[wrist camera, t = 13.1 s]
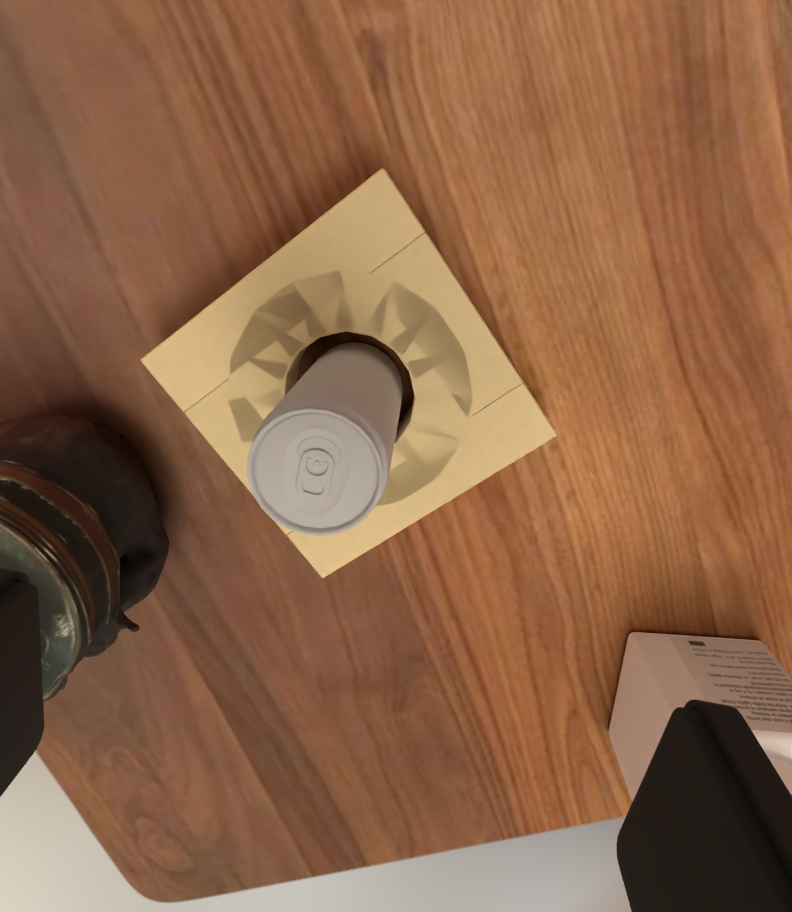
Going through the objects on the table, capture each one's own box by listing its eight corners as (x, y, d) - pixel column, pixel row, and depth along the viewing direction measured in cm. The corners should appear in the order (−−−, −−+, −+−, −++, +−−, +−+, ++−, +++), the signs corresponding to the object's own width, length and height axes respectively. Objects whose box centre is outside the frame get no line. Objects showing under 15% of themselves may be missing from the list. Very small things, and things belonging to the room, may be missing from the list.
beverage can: (413, 351, 31) (402, 422, 19) (392, 440, 32) (371, 553, 21) (318, 330, 31) (252, 388, 19) (303, 420, 32) (233, 522, 21)
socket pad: (165, 348, 31) (139, 360, 28) (388, 173, 28) (382, 167, 25) (331, 550, 35) (322, 579, 32) (546, 417, 31) (557, 435, 29)
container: (732, 742, 38) (874, 985, 26) (605, 732, 38) (687, 968, 26) (763, 637, 35) (939, 853, 23) (627, 628, 35) (729, 836, 23)
